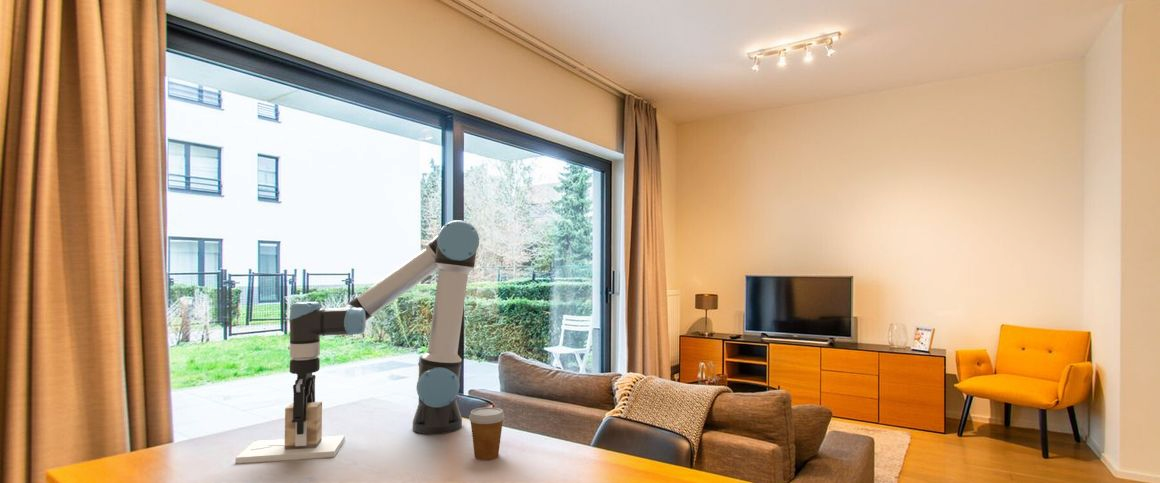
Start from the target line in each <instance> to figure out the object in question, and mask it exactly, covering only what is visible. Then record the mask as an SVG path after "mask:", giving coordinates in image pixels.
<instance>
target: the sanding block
mask: <svg viewBox="0 0 1160 483" xmlns="http://www.w3.org/2000/svg"><path fill="white" fill-rule="evenodd" d="M292 420H293V402H292V403H290V404H288V406H286V407H285V408H284V439H285V449H302V448H316V447H317V446H318V445H319V443H320V442H321V441H322V437H323V436H322V435H323V433H322V432H323V425H322V423H323V401H315V402H309V403H307V407H306V420H305V421H307V445H306V446H295V422H293V423H292Z"/></svg>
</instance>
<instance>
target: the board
mask: <svg viewBox="0 0 1160 483" xmlns="http://www.w3.org/2000/svg"><path fill="white" fill-rule="evenodd" d="M345 437H346V435H332V436H322V441H321V442H320V443H319V445H318V446H317V447H316V448H302V449H285V438H280V439H265V440H254V441H253V442H252V443H251V444H249V446H247V447H246V448H245V449H244V450H242V451H241V453H239V454H238V455H237V456H235V464H247V463H248V464H249V463H260V462H261V463H262V462H276V461H277V462H278V461H279V462H280V461H291V460H295V461H296V460H308V459H323V458H335V457H336V455H337V453H338V452H339V450H340V449H341V447H342V446H343V444H344V442H345V441H346V438H345Z"/></svg>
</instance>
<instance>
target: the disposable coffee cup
mask: <svg viewBox="0 0 1160 483" xmlns="http://www.w3.org/2000/svg"><path fill="white" fill-rule="evenodd" d="M504 418H505V414H504V410H503V409H502V408H499V407H489V406H488V407H487V406H486V407H485V406H484V407H478V408H474V409H472V410H471V411H470V414H469V415H468V419H469V422H470V427H471V436H472V443H473V444H472V446H473V453H474V455H473V456H474V458H475V459H476V460H479V461H492V460H495V459H497V458H499V453H500V444H501V440H502V439H501V438H502V430H503V423H504V421H503V420H504Z"/></svg>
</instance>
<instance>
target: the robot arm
mask: <svg viewBox="0 0 1160 483" xmlns="http://www.w3.org/2000/svg"><path fill="white" fill-rule="evenodd" d="M479 245H480V237H479V232H478V231H477V229H476V228H475V227H474V225H472V224H471V223H469V222H468V221H466V220H465V221H464V220H462V219H460V220H457V219H454V220H449V221H448V222H446V223H444V224H443V225H442V226H441V227H440V229H439V231H438V234H437V235H436V236H435V237H434V238H433V239H431V240H430V241H429V242H427V243H426V244H425V248H424V249H423V250H421V251H420V252H418V253H417V254H415V255H414V256H413V257H411V258H409V260H408V261H406V262H404V263H403V264H401V266H398V267H397V268H396V269H394V270H393V271H391V272H390V273H389V274H387V275H386V276H385V277H382V278H381V279H380V280H379V281H377V282H376V283H375V284H372V286H370V287H369V288H367V289H366V290H364V291H363V292H362V293H360V294H359V295H358V296H356V297H355V298H353V299H351V301H349V302H347V303H346V304H344V305H343V306H342V307H338V308H337V307H336V308H324V307H323V308H321V304H320V302H319V301H298V302H294V303H292V304H291V306H290V315H289V346H288V347H287V350H289V358H291V359H290V360H289V373H290V374H292V375H296V376H297V377H296V380H295V382H294V384H293V385H292V389H293V390H292V391H293V397H292V398H293V402H292V403H293V420H292V423H293V422H295V446H306V445H307V421H305V420H306V407H307V403H309V402H316V375H315V374H313V373H316V372H318V371H320V367H321V366H320V364H321V363H320V362H321V361H320V357H319V356H320V355H321V344H320V343H321V342H320V341H321V339H320V338H321V336H322V337H323V336H345V335H346V336H347V335H348V336H353V335H360V334H363V333H364V332H365V331H366V322H367V321H368V320H369V319H370V318H371V317H373V316H375V315H376V314H377V313H379V312H380V311H381V310H383V309H384V308H386V307H388V305H390V304H391V303H393V302H394V301H395V300H397V299H398V298H400V297H401V296H402V295H404V294H405V293H407V292H408V291H409V290H411V289H412V288H414V287H415V286H417V285H418V284H419V283H421V282H422V281H423V280H425V279H426V278H427V277H429V276H430V275H433V273H435V272H436V271H437V270H438V273H437V274H438V275H437V282H436V287H435V288H436V289H435V295H434V301H433V302H434V303H433V309H432V317H431V324H430V332H429V338H428V345H427V346H428V347H427V351H426V352H425V353H423V354H422V355H420V356H419V358H418V363H417V366H418V379H417V382H416V392H417V395H418V404H417V407H416V411H415V413H414V417H413V419H412V430H413V432H415V433H418V434H422V435H423V434H426V435H440V434H448V433H451V432H455V431H458V430H459V429H460V428H462V427H463V417H462V415H461V414H462V413H461V412H460V408H459V404H458V402H457V396H458V394H459V392H460V387H461V384H460V376H461V369H462V360H463V359H462V358H461V356H460V355H459V354H458V352H459V346H460V336H461V328H462V323H463V322H462V321H463V314H464V308H465V299H466V293H467V286H468V277H469V273H470V272H472V271H473V270H474V269H475V264H476V258H477V251H478V248H479Z"/></svg>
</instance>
